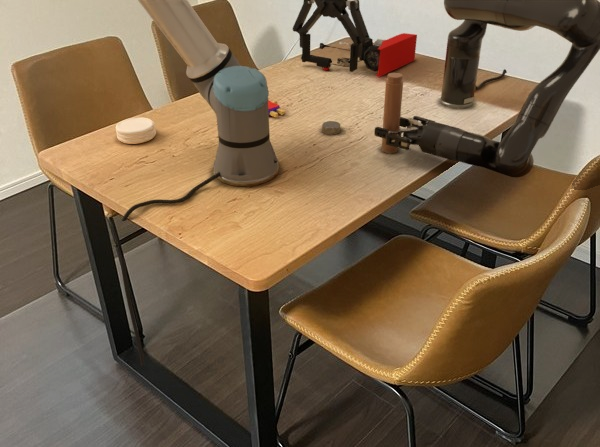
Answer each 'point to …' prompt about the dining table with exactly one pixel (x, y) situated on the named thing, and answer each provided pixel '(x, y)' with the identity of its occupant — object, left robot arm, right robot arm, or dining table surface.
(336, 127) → the lid
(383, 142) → the brown capped cylinder
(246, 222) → the dining table surface
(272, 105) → the toy figure
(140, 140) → the coaster
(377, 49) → the electric hoist
